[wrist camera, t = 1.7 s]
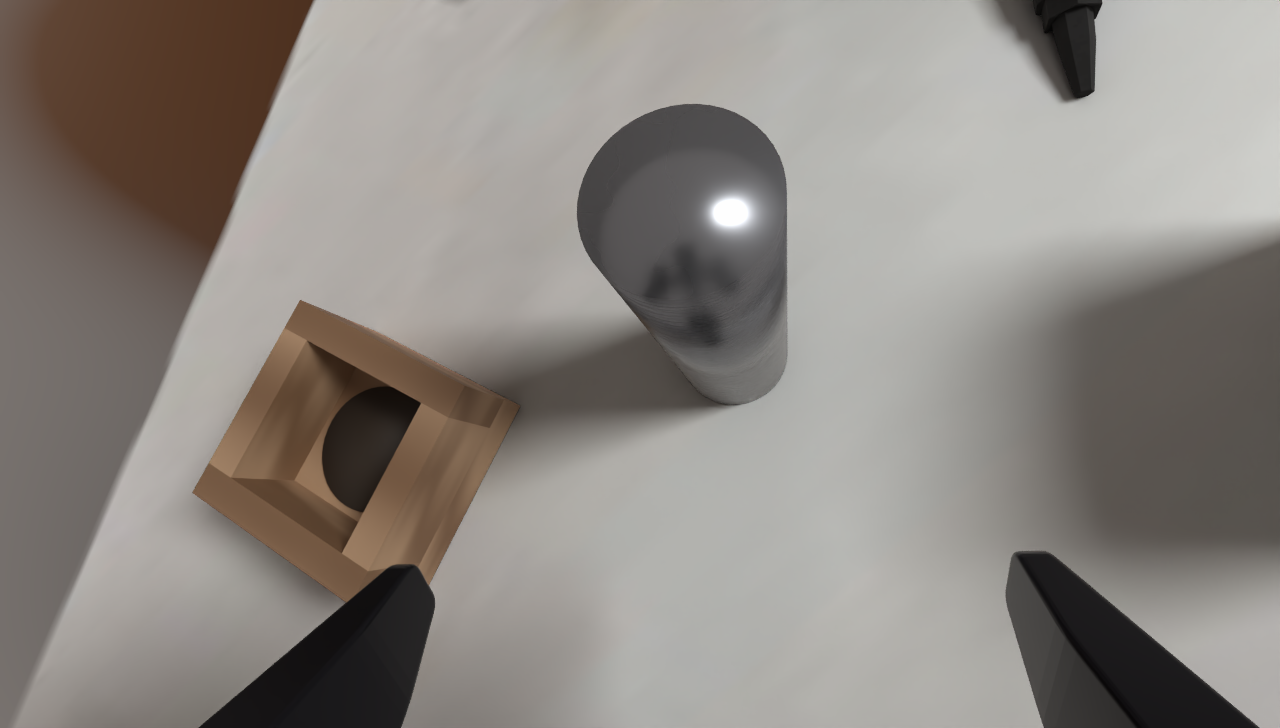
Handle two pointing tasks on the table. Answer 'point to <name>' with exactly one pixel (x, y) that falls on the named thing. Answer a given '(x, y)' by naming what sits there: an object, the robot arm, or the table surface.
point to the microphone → (1073, 38)
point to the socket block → (354, 452)
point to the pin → (696, 242)
